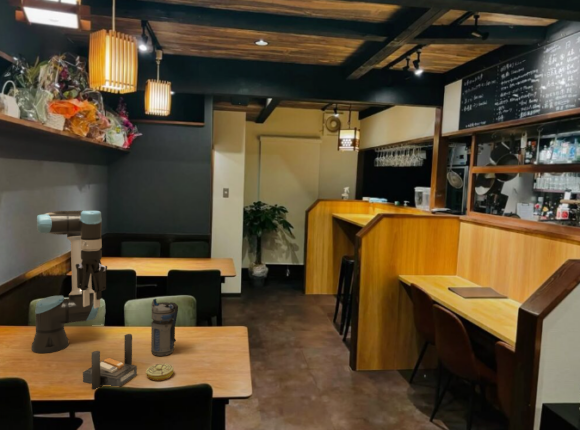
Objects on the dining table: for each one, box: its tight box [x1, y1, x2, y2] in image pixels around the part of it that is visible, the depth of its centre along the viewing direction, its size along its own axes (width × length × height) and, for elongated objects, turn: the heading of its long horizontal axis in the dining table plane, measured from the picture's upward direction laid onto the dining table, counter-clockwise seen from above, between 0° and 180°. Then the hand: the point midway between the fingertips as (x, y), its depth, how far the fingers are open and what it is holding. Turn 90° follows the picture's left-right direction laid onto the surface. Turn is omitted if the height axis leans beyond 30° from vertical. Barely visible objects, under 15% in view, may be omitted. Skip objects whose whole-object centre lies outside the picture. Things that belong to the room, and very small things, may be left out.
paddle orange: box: [103, 357, 124, 369], centre depth 170 cm, size 8×3×1 cm, turn 74°
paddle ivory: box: [100, 361, 117, 373], centre depth 166 cm, size 8×3×1 cm, turn 74°
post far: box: [123, 333, 133, 365], centre depth 179 cm, size 3×3×14 cm
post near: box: [91, 350, 101, 390], centre depth 160 cm, size 3×3×14 cm
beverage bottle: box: [150, 298, 179, 357], centre depth 194 cm, size 10×13×25 cm
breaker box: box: [82, 359, 138, 387], centre depth 168 cm, size 16×12×5 cm
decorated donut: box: [145, 363, 174, 381], centre depth 172 cm, size 10×11×4 cm
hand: (91, 306), depth 169 cm, fingers open, 4 cm apart
